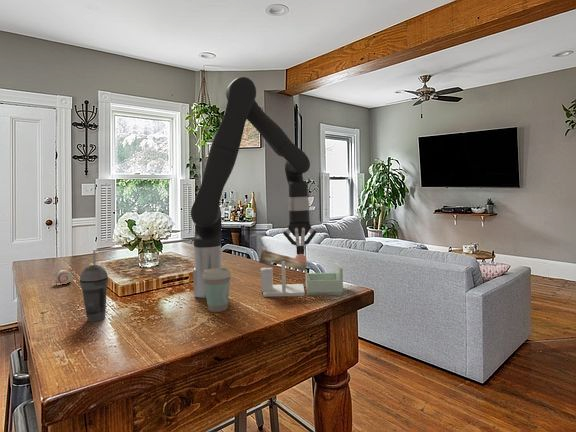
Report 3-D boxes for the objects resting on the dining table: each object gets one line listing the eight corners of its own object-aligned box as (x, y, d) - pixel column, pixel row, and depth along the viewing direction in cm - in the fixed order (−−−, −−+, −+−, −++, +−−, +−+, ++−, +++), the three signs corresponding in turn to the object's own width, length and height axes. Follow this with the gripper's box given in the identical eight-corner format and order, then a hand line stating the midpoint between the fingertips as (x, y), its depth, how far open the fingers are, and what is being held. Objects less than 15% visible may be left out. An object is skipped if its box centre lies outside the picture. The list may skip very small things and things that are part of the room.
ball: (301, 268, 126) (292, 260, 126) (300, 266, 130) (292, 258, 130) (309, 260, 126) (301, 252, 126) (308, 258, 130) (300, 250, 130)
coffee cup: (226, 314, 106) (224, 273, 105) (198, 312, 107) (197, 272, 107) (236, 305, 114) (234, 267, 113) (210, 304, 116) (209, 266, 115)
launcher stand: (260, 296, 123) (259, 263, 122) (262, 287, 135) (261, 256, 134) (304, 295, 123) (303, 262, 122) (303, 286, 135) (302, 255, 134)
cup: (307, 295, 123) (307, 269, 122) (305, 286, 135) (305, 262, 134) (343, 294, 123) (342, 268, 122) (338, 285, 135) (337, 261, 134)
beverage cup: (103, 313, 109) (100, 247, 108) (115, 318, 105) (111, 249, 103) (77, 320, 104) (73, 250, 102) (88, 325, 99) (84, 252, 98)
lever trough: (258, 263, 125) (262, 249, 125) (261, 256, 138) (264, 244, 138) (303, 275, 125) (307, 261, 125) (302, 267, 138) (305, 255, 138)
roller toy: (53, 284, 147) (52, 270, 147) (71, 282, 152) (70, 268, 151) (55, 286, 144) (55, 272, 144) (74, 283, 148) (73, 269, 148)
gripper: (280, 210, 130) (282, 258, 131) (317, 209, 130) (319, 256, 131) (281, 209, 138) (283, 254, 139) (316, 208, 138) (317, 253, 139)
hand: (300, 255), depth 135 cm, fingers closed
